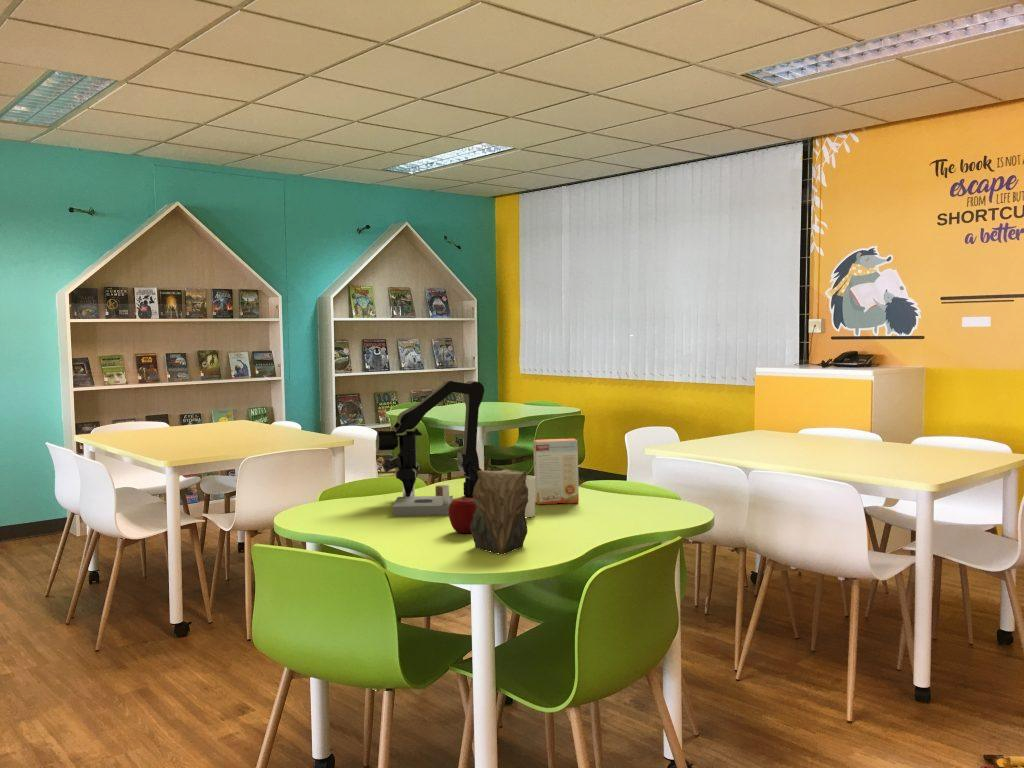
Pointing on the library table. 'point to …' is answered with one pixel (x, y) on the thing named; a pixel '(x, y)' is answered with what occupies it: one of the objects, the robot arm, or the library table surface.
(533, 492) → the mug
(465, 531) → the apple
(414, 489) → the long pin
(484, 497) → the owl
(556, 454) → the cracker box
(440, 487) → the short pin
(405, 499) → the grey peg base
